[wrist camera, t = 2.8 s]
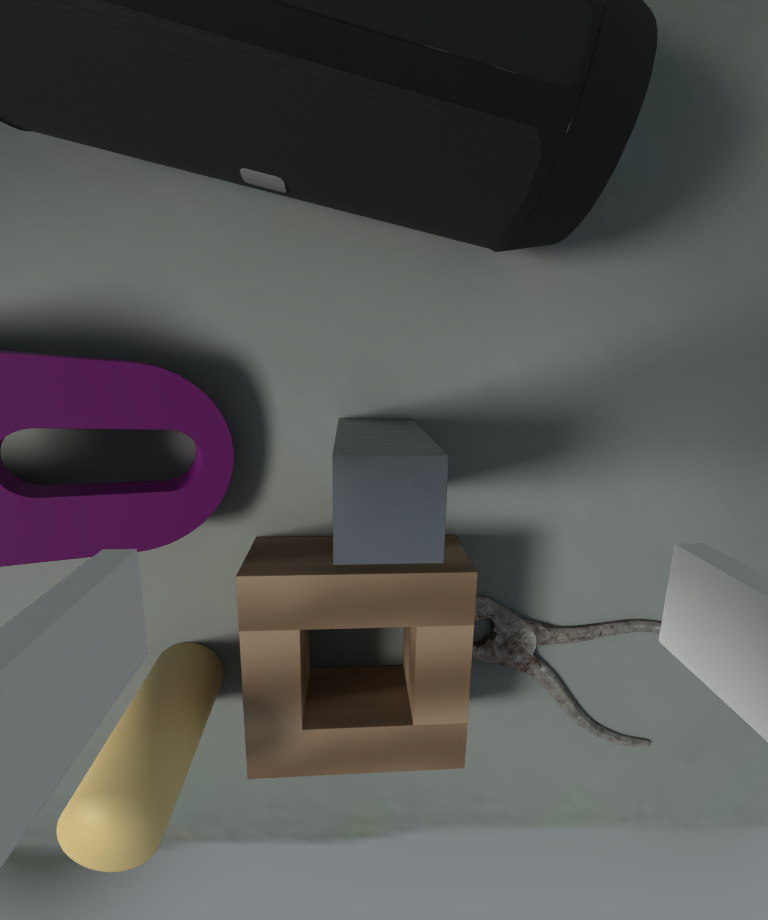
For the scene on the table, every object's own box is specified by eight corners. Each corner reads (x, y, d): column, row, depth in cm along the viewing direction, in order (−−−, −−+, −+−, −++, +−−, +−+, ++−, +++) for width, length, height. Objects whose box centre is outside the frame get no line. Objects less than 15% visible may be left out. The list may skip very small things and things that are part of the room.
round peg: (151, 643, 28) (49, 795, 19) (221, 641, 29) (157, 789, 19) (158, 701, 29) (64, 875, 20) (225, 699, 30) (166, 868, 20)
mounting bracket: (207, 361, 31) (-199, 326, 22) (236, 371, 24) (-350, 324, 14) (204, 497, 33) (-169, 517, 24) (230, 543, 26) (-289, 597, 16)
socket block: (256, 537, 27) (235, 576, 22) (455, 534, 28) (477, 572, 23) (264, 710, 30) (247, 779, 25) (446, 703, 31) (464, 768, 26)
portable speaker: (20, 156, 22) (-234, 3, 13) (32, -88, 20) (-259, -492, 11) (515, 280, 25) (618, 234, 16) (567, 78, 23) (723, -121, 14)
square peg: (338, 418, 26) (332, 456, 16) (412, 419, 26) (448, 455, 17) (338, 489, 27) (333, 564, 17) (409, 489, 27) (443, 562, 18)
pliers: (671, 753, 33) (397, 723, 30) (663, 743, 34) (396, 712, 31) (719, 633, 31) (430, 590, 28) (709, 626, 32) (427, 583, 29)
